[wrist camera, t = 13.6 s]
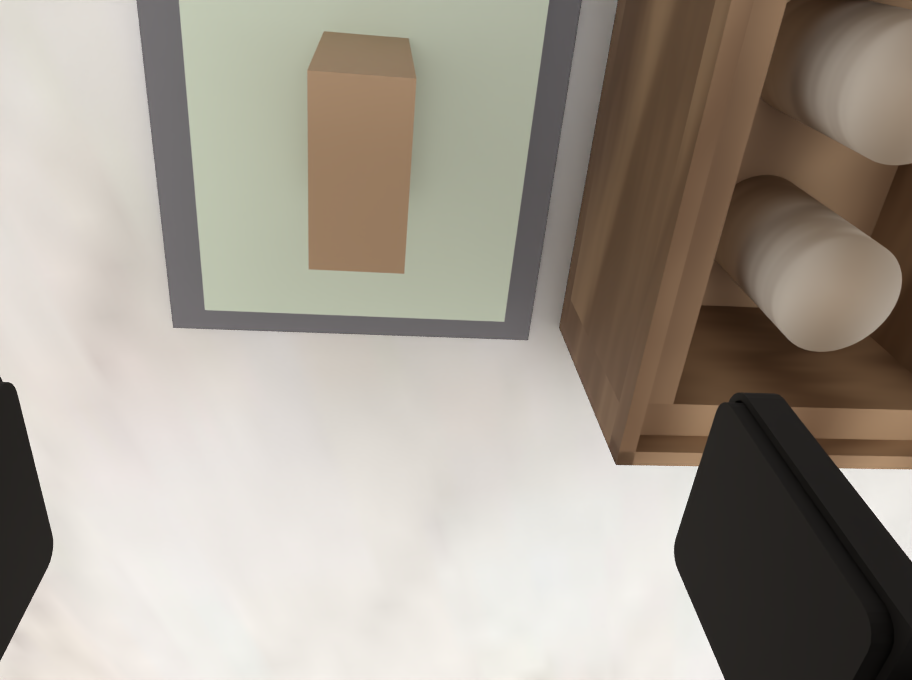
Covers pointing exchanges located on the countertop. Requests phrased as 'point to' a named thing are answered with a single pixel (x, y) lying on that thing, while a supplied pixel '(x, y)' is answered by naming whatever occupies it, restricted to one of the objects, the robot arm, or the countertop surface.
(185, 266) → the mat
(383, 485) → the countertop surface
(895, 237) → the crate
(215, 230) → the lid
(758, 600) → the robot arm
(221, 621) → the countertop surface
